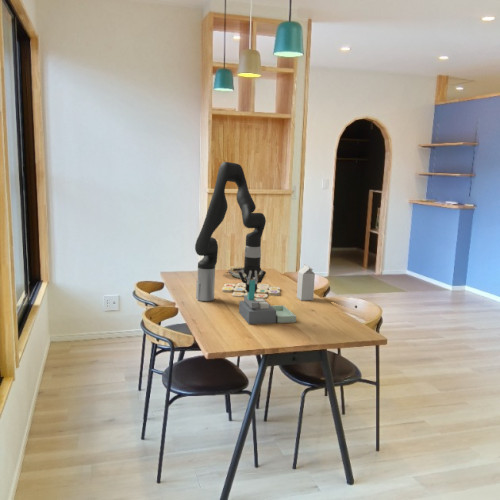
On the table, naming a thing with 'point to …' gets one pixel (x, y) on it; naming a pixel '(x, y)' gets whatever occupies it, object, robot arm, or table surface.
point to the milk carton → (305, 283)
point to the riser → (257, 314)
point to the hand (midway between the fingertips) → (251, 291)
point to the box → (284, 314)
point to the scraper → (251, 295)
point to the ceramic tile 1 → (263, 305)
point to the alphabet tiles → (261, 292)
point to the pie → (235, 272)
